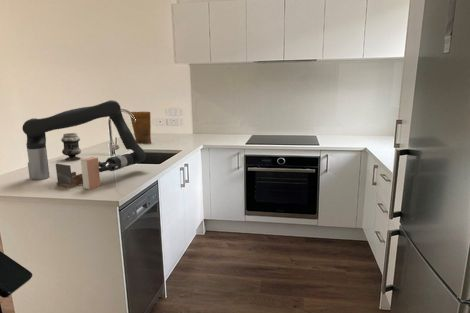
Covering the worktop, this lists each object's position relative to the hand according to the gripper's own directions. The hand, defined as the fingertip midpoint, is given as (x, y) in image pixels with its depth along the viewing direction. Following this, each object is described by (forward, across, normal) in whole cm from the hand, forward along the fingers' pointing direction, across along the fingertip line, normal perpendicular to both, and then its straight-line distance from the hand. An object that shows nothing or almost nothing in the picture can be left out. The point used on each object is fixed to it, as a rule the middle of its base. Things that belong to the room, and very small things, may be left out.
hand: (93, 169), depth 173 cm
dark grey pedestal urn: (-39, -64, +9) cm, 75 cm away
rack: (+2, -14, +9) cm, 17 cm away
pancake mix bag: (-110, -62, +9) cm, 126 cm away
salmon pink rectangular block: (+2, 0, +9) cm, 9 cm away
